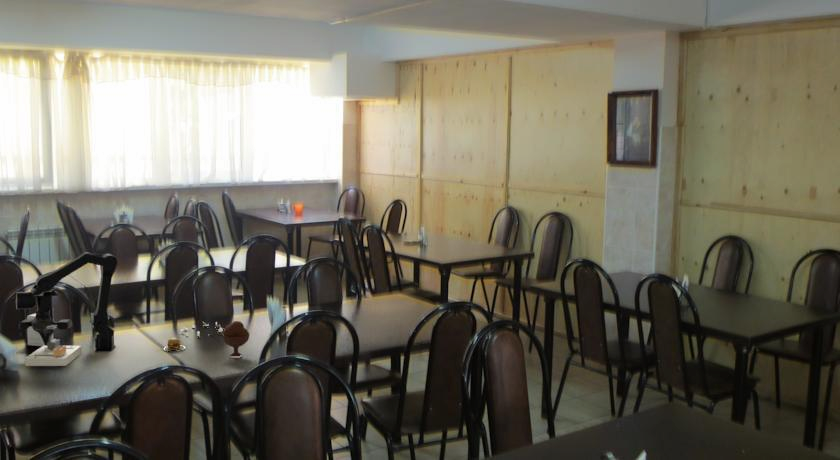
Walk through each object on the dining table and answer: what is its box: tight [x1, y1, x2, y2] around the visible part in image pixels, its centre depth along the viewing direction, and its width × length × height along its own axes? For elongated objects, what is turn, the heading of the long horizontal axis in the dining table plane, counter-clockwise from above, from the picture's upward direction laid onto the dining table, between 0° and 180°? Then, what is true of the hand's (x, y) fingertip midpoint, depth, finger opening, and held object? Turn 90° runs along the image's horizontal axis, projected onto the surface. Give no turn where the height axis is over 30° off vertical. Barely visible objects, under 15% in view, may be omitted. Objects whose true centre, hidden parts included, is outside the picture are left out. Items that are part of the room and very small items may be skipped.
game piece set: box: [180, 321, 224, 337], centre depth 357 cm, size 19×20×4 cm
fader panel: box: [24, 345, 83, 367], centre depth 310 cm, size 15×18×3 cm
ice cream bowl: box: [221, 320, 250, 356], centre depth 319 cm, size 11×11×15 cm
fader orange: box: [53, 345, 67, 356], centre depth 305 cm, size 3×5×3 cm, turn 4°
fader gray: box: [47, 338, 61, 349], centre depth 315 cm, size 3×5×3 cm, turn 4°
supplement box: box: [26, 312, 54, 347], centre depth 331 cm, size 7×7×13 cm
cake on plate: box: [163, 337, 187, 352], centre depth 329 cm, size 12×12×6 cm
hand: (46, 345), depth 315 cm, fingers closed
